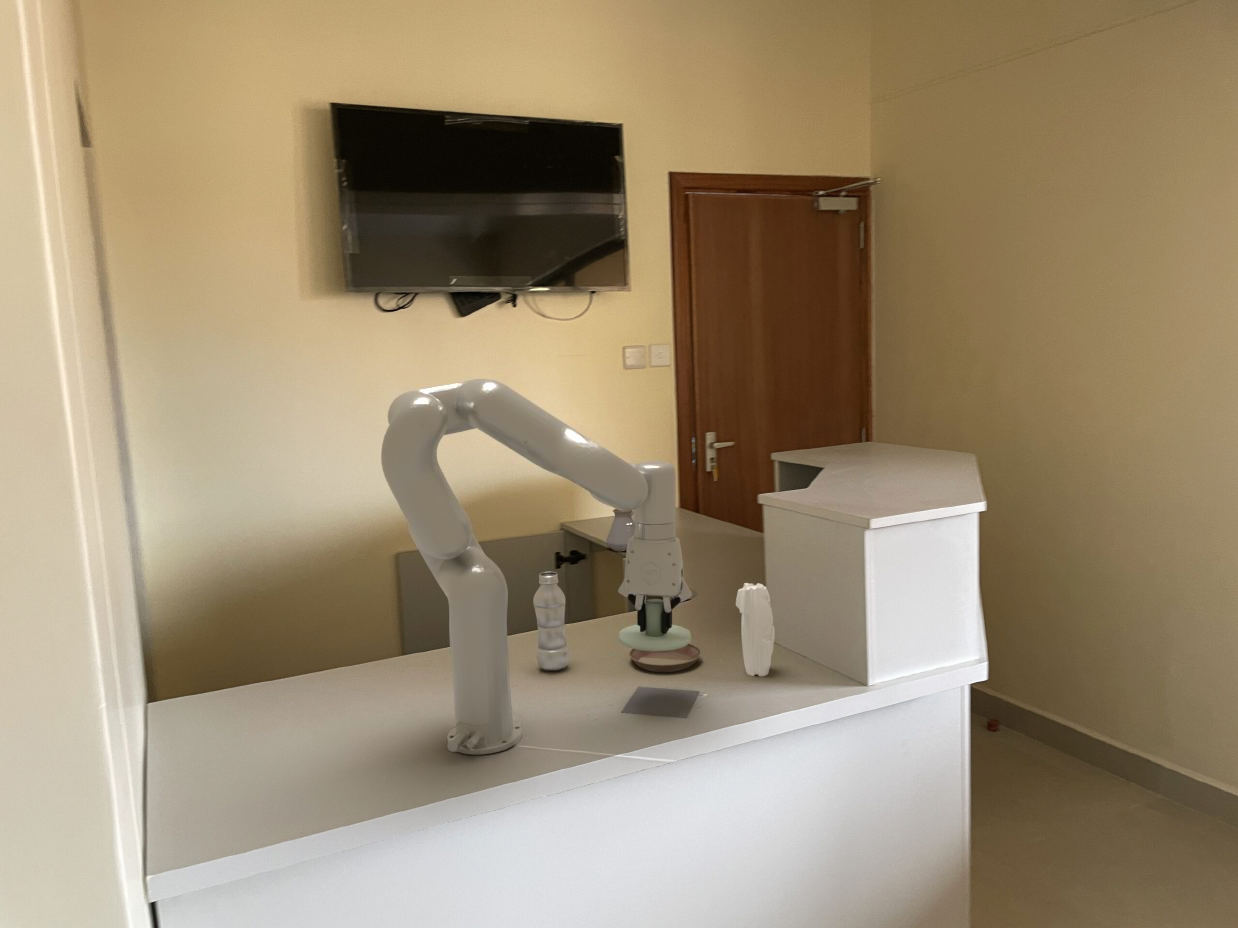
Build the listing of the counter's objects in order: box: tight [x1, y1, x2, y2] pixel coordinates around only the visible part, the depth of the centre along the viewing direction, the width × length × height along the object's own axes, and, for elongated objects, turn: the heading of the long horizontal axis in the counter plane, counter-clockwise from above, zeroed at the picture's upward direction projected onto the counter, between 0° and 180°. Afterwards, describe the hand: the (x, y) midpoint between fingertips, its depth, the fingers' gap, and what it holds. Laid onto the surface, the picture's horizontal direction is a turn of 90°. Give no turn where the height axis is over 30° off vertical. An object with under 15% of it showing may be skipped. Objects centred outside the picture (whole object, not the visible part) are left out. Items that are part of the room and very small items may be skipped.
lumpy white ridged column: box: [735, 582, 776, 677], centre depth 172 cm, size 7×18×7 cm
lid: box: [618, 598, 692, 651], centre depth 159 cm, size 13×13×7 cm
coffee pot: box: [606, 508, 634, 553], centre depth 286 cm, size 21×12×15 cm, turn 145°
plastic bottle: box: [533, 571, 570, 671], centre depth 179 cm, size 6×7×20 cm
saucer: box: [628, 643, 702, 673], centre depth 181 cm, size 15×15×3 cm
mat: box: [620, 686, 701, 719], centre depth 161 cm, size 12×12×1 cm
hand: (654, 629), depth 159 cm, fingers closed on lid, 3 cm apart
